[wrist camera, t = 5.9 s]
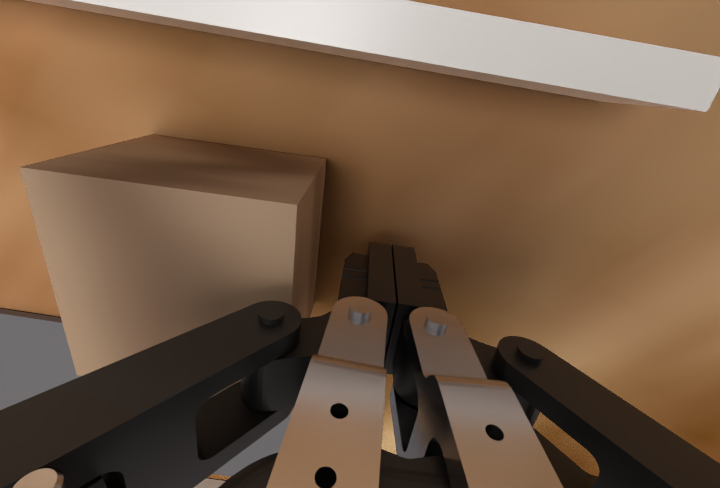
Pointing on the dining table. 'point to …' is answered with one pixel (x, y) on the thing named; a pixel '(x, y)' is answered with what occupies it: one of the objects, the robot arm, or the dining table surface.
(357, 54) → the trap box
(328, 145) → the dining table surface
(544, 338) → the dining table surface
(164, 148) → the walnut block
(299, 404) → the robot arm
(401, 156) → the dining table surface
